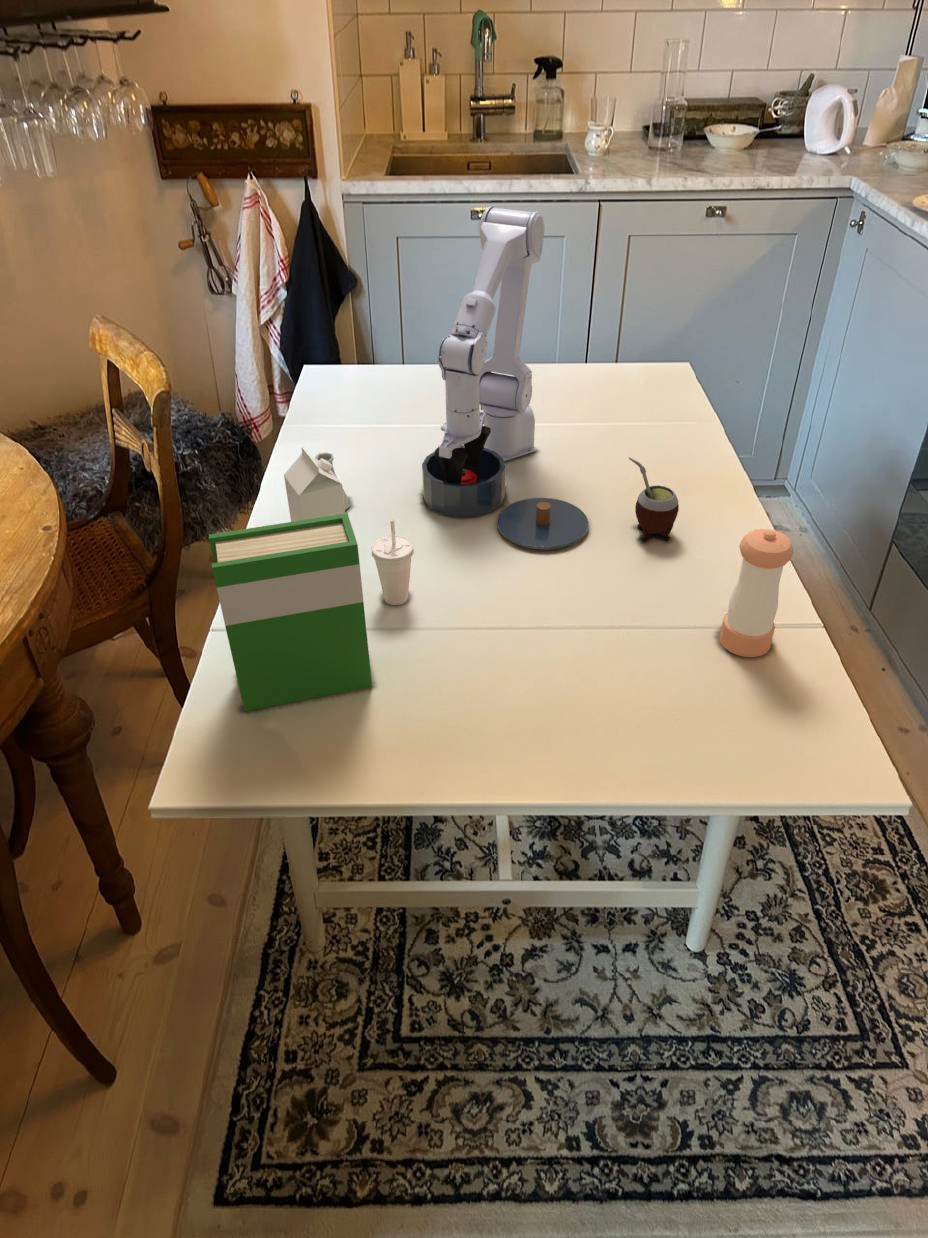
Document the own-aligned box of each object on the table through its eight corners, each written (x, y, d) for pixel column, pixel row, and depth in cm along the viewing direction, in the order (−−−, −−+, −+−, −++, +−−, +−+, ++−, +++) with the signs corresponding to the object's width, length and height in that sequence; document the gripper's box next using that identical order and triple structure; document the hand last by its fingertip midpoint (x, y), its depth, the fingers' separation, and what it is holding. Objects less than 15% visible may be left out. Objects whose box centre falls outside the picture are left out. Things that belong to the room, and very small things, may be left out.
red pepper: (468, 484, 172) (467, 459, 169) (482, 496, 169) (482, 471, 166) (445, 492, 170) (445, 467, 167) (459, 503, 167) (459, 478, 164)
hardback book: (244, 711, 127) (212, 567, 112) (239, 675, 133) (208, 534, 118) (372, 686, 131) (357, 544, 116) (362, 653, 136) (347, 513, 121)
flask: (353, 496, 170) (349, 447, 164) (346, 518, 165) (340, 468, 158) (314, 494, 171) (308, 445, 165) (305, 516, 165) (298, 466, 159)
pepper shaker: (761, 663, 134) (789, 553, 122) (712, 646, 137) (734, 536, 125) (777, 635, 138) (805, 526, 126) (729, 619, 141) (752, 511, 129)
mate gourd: (682, 532, 160) (694, 454, 150) (656, 552, 155) (667, 473, 146) (645, 516, 164) (655, 439, 154) (619, 535, 159) (627, 457, 150)
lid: (531, 493, 170) (532, 472, 168) (605, 521, 163) (607, 500, 160) (479, 531, 161) (479, 510, 158) (555, 563, 153) (556, 541, 151)
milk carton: (310, 575, 152) (295, 472, 140) (295, 553, 156) (280, 451, 145) (351, 563, 154) (340, 460, 142) (335, 541, 159) (323, 441, 147)
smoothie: (423, 591, 148) (419, 516, 139) (404, 614, 143) (399, 538, 135) (387, 581, 150) (381, 506, 141) (368, 604, 145) (360, 528, 137)
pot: (457, 467, 178) (456, 437, 174) (520, 491, 171) (521, 460, 167) (407, 499, 169) (405, 469, 165) (471, 526, 162) (470, 495, 158)
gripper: (460, 384, 165) (461, 452, 174) (421, 418, 155) (425, 489, 164) (496, 391, 163) (496, 460, 171) (459, 427, 153) (461, 498, 161)
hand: (463, 475), depth 167 cm, fingers open, 7 cm apart
